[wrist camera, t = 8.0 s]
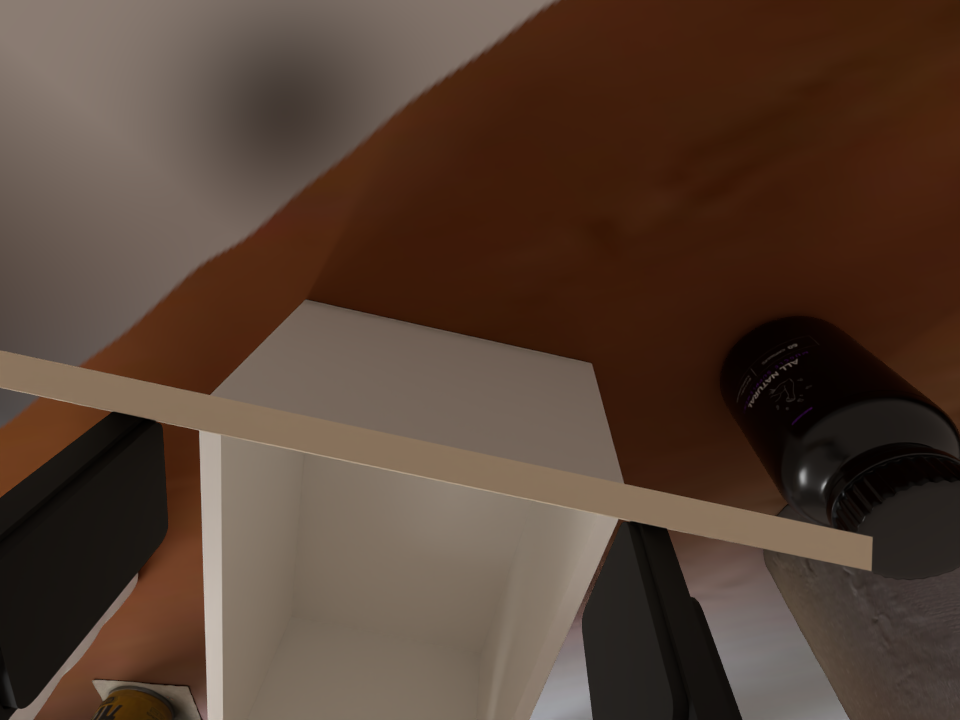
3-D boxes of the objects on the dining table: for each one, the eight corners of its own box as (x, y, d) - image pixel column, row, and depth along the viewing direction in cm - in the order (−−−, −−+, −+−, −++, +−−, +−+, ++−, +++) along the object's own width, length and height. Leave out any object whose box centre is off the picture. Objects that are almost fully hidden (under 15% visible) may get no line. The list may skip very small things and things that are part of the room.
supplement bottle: (723, 314, 28) (850, 453, 17) (862, 309, 28) (1080, 449, 17) (708, 425, 31) (807, 601, 21) (832, 422, 31) (1001, 601, 20)
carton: (591, 363, 30) (627, 497, 20) (489, 654, 42) (480, 829, 32) (305, 299, 29) (198, 406, 19) (283, 614, 41) (209, 779, 31)
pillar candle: (820, 611, 37) (993, 901, 24) (728, 539, 35) (865, 818, 22) (956, 533, 34) (1249, 824, 20) (865, 447, 31) (1131, 713, 18)
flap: (616, 518, 19) (618, 504, 19) (872, 571, 8) (872, 537, 8) (198, 430, 19) (203, 416, 19) (-145, 356, 8) (-130, 323, 8)
